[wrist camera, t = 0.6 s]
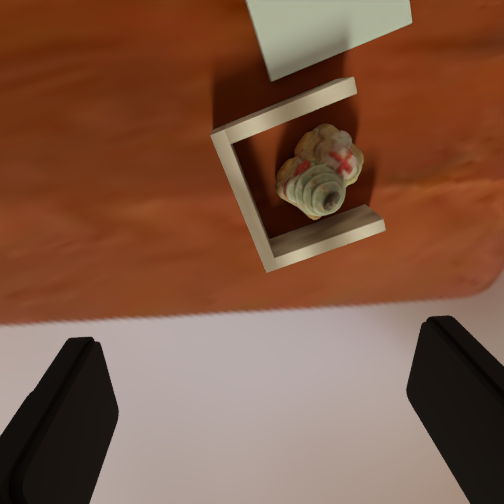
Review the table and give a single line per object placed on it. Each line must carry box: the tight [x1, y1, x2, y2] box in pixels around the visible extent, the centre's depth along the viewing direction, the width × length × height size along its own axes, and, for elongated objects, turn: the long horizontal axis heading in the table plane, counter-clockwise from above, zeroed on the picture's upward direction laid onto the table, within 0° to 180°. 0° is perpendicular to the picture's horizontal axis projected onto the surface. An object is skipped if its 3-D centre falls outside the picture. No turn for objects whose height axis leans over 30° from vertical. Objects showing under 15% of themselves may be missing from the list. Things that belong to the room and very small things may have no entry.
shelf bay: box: [210, 77, 386, 273], centre depth 30 cm, size 12×13×4 cm
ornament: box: [275, 124, 364, 220], centre depth 28 cm, size 8×6×10 cm
